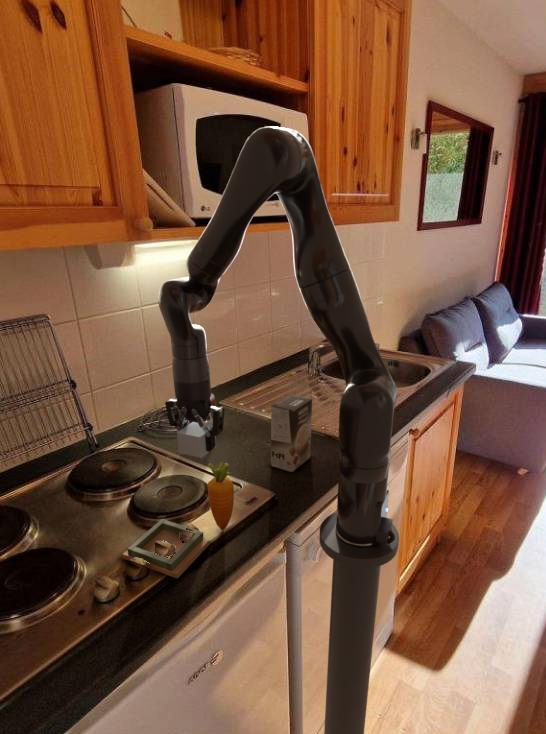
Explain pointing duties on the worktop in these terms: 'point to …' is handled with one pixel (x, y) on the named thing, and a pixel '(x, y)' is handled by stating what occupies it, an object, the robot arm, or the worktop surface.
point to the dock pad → (170, 534)
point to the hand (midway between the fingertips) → (197, 446)
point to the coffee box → (291, 432)
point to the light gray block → (192, 440)
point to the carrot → (221, 495)
